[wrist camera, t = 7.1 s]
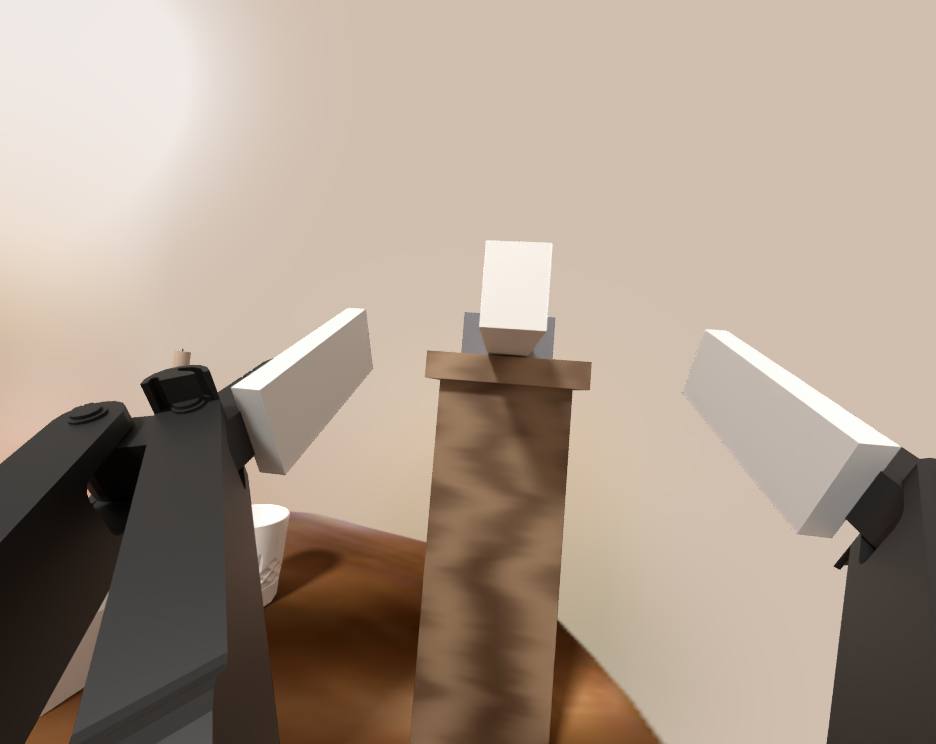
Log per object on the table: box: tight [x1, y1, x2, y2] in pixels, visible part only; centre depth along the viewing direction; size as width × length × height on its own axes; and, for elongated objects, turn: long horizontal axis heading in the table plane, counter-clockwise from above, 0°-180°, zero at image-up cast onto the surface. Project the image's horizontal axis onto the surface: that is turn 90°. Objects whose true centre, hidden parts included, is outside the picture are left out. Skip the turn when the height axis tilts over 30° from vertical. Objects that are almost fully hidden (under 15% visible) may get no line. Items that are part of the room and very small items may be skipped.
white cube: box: [40, 592, 109, 717], centre depth 30 cm, size 6×6×6 cm
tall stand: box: [410, 351, 591, 744], centre depth 32 cm, size 12×14×30 cm
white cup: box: [252, 504, 290, 607], centre depth 42 cm, size 8×8×10 cm
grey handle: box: [461, 240, 555, 359], centre depth 29 cm, size 9×27×5 cm, turn 175°
